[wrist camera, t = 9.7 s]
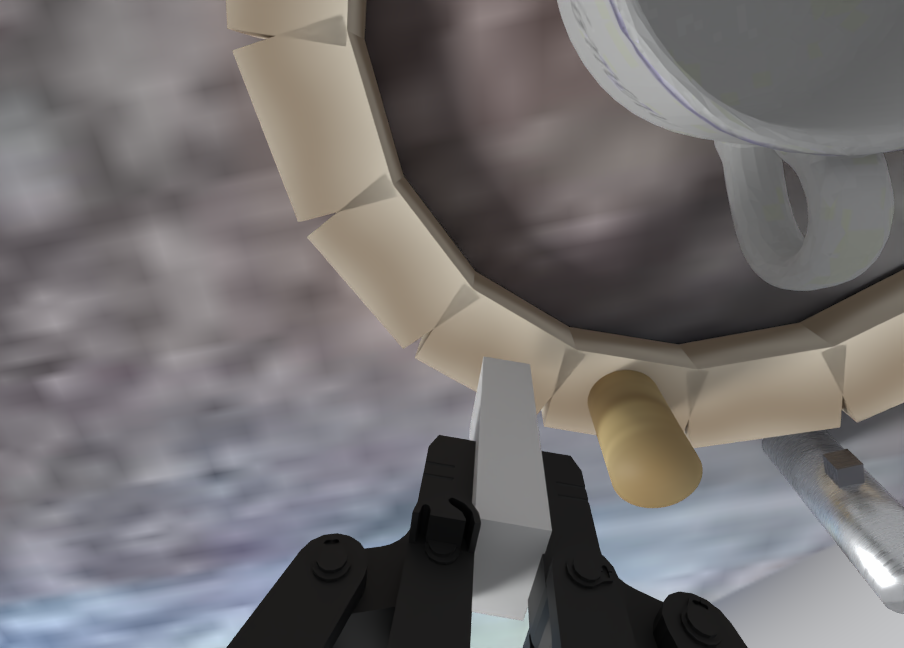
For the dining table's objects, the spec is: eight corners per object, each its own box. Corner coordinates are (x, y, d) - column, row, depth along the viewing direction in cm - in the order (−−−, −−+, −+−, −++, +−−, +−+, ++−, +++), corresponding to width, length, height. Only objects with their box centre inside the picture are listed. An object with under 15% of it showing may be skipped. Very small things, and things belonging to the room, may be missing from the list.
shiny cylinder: (749, 456, 21) (860, 606, 15) (780, 397, 20) (916, 534, 13) (807, 465, 21) (943, 620, 15) (841, 407, 20) (1007, 549, 13)
